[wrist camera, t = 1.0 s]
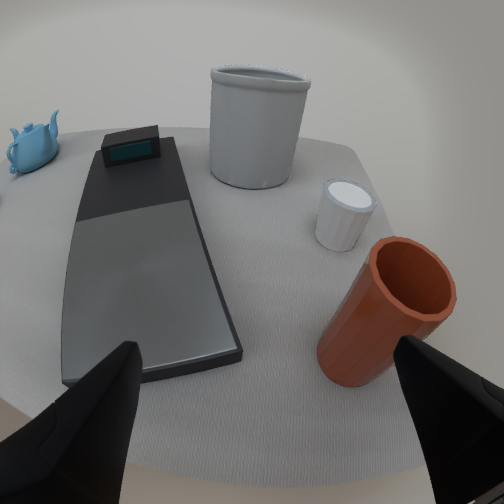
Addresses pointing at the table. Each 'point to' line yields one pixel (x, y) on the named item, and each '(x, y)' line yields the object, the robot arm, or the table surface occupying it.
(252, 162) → the utensil holder
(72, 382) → the scale
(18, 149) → the teapot
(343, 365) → the cup
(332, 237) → the shot glass
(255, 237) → the table surface
